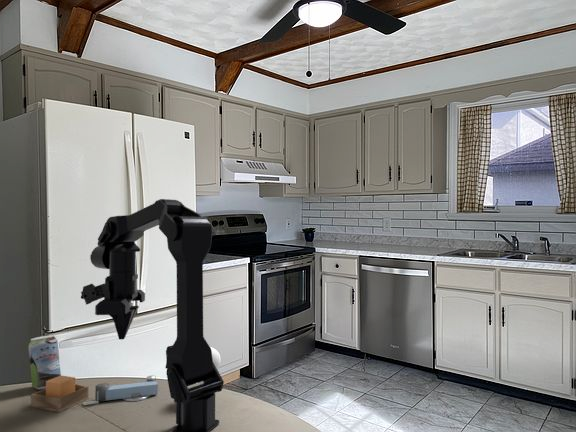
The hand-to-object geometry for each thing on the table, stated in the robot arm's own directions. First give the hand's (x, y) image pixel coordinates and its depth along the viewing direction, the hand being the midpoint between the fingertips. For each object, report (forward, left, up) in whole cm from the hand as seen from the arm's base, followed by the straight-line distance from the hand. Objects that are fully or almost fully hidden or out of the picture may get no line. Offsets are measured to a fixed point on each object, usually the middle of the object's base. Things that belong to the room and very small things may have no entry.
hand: (121, 339), depth 101 cm
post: (-6, -3, -12) cm, 14 cm away
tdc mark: (+1, +8, -12) cm, 14 cm away
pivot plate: (-5, +1, -12) cm, 13 cm away
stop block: (+8, +10, -12) cm, 17 cm away
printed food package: (+19, +4, -12) cm, 23 cm away
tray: (+8, +10, -12) cm, 17 cm away
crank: (-3, +2, -12) cm, 12 cm away
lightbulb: (-20, -4, -12) cm, 24 cm away
